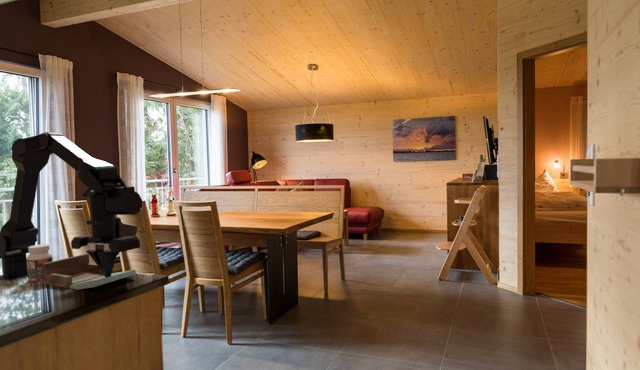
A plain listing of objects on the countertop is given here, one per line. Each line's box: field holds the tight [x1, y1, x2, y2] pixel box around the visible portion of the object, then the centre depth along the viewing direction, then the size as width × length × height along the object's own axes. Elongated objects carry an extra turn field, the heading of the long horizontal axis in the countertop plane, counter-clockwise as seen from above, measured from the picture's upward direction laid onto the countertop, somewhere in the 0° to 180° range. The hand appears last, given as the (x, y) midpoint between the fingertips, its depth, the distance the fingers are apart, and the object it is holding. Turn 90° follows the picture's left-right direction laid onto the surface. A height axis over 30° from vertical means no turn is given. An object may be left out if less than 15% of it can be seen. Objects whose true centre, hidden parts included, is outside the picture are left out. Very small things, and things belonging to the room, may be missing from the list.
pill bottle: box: [26, 243, 54, 284], centre depth 113 cm, size 6×6×10 cm
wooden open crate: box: [42, 253, 104, 289], centre depth 113 cm, size 10×12×6 cm
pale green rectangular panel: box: [69, 269, 137, 290], centre depth 108 cm, size 1×12×9 cm
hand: (107, 276), depth 107 cm, fingers closed, pressing on pale green rectangular panel
